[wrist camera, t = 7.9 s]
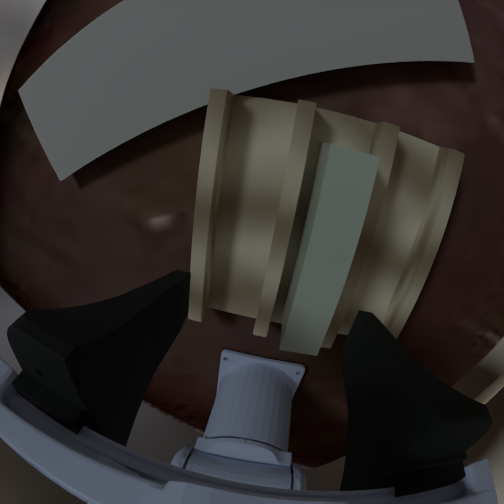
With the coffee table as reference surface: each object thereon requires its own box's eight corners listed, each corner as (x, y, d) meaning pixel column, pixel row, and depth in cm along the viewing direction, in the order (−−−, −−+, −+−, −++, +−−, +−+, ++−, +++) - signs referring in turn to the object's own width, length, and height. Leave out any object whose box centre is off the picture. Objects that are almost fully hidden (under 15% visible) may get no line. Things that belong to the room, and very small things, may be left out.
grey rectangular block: (441, 58, 14) (408, -40, 8) (474, 62, 10) (434, -53, 5) (88, 160, 23) (51, 80, 17) (60, 181, 19) (18, 90, 13)
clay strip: (314, 310, 21) (316, 355, 16) (284, 304, 21) (279, 349, 16) (357, 151, 16) (379, 157, 11) (320, 142, 16) (330, 143, 11)
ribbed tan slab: (384, 333, 22) (392, 356, 19) (194, 296, 23) (182, 317, 20) (448, 152, 15) (469, 157, 12) (216, 95, 16) (202, 88, 14)
